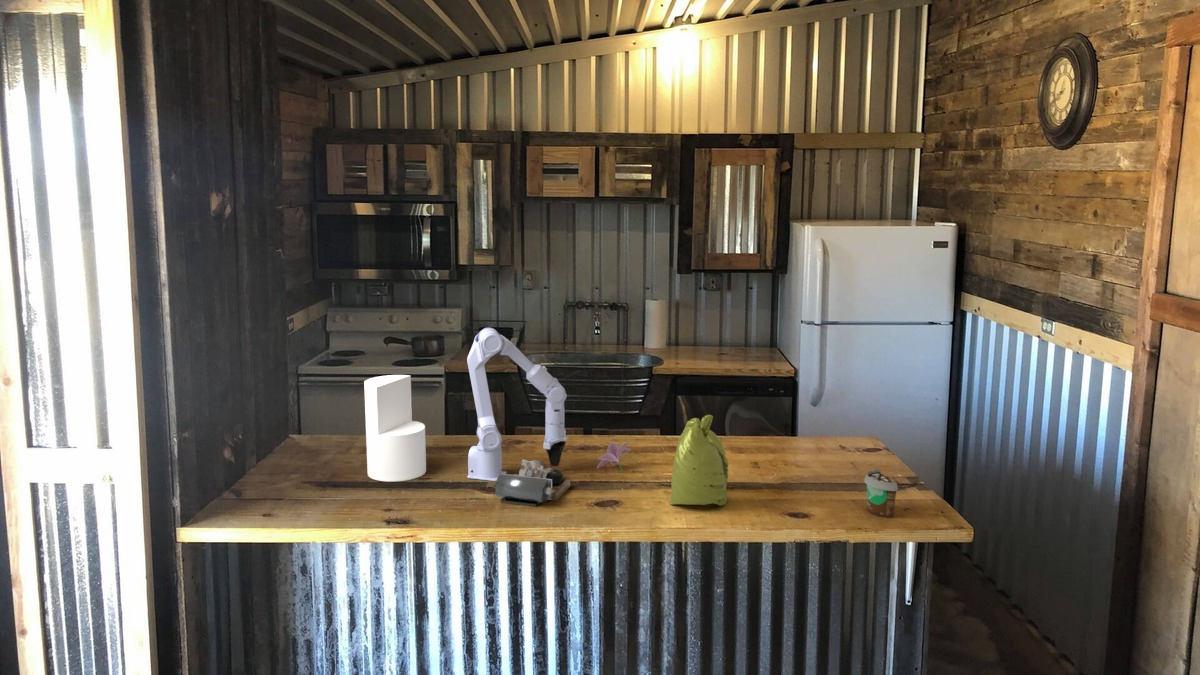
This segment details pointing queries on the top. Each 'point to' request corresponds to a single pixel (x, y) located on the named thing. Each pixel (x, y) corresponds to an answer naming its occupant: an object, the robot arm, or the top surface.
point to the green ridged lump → (699, 466)
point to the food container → (880, 494)
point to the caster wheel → (540, 471)
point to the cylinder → (393, 430)
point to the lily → (613, 454)
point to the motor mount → (527, 489)
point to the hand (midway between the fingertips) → (554, 465)
